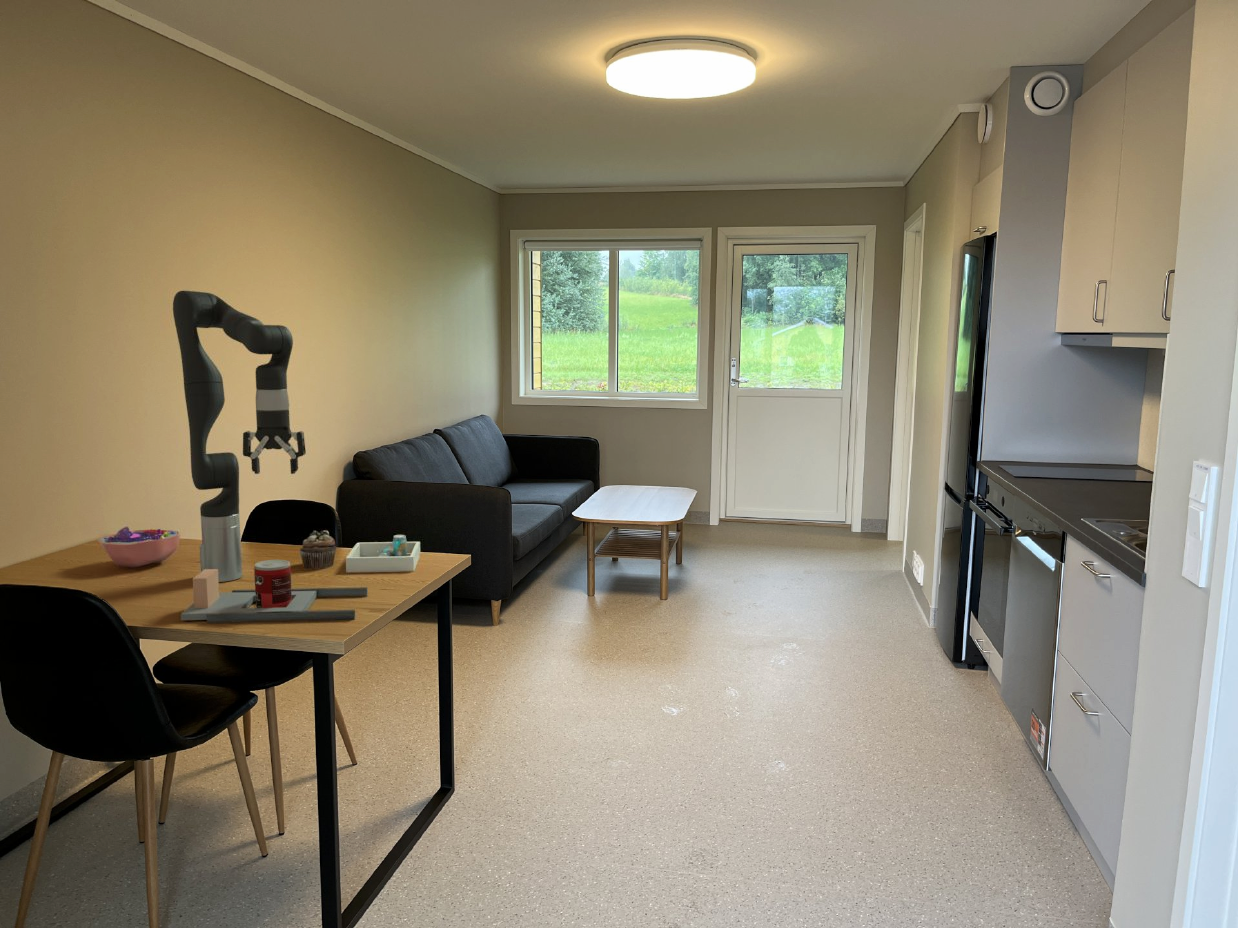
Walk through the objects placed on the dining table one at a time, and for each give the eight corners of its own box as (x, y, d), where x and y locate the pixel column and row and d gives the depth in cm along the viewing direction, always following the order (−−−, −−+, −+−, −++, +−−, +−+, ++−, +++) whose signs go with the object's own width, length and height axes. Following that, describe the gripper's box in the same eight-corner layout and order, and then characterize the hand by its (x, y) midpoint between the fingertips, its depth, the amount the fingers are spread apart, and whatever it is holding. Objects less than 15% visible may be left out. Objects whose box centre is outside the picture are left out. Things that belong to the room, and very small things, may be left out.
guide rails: (207, 623, 196) (206, 614, 196) (233, 597, 214) (233, 589, 214) (354, 619, 200) (354, 610, 200) (367, 594, 218) (367, 587, 218)
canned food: (261, 604, 210) (259, 559, 208) (296, 603, 211) (294, 559, 209) (251, 614, 202) (249, 567, 201) (287, 613, 203) (285, 567, 202)
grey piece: (181, 620, 197) (179, 583, 195) (205, 599, 212) (203, 564, 211) (301, 617, 200) (300, 581, 199) (316, 596, 215) (315, 563, 214)
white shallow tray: (346, 572, 238) (345, 558, 238) (357, 555, 256) (357, 542, 256) (413, 571, 241) (413, 557, 240) (420, 554, 258) (420, 541, 258)
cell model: (188, 566, 243) (186, 526, 241) (105, 577, 231) (102, 535, 229) (176, 553, 256) (173, 515, 254) (97, 563, 244) (94, 523, 242)
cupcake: (331, 559, 252) (330, 525, 250) (340, 567, 244) (339, 532, 242) (296, 563, 247) (295, 529, 245) (304, 571, 239) (303, 536, 237)
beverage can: (409, 568, 244) (408, 541, 243) (365, 568, 243) (364, 540, 242) (417, 558, 256) (417, 531, 254) (376, 557, 255) (375, 531, 254)
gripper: (237, 409, 209) (240, 476, 211) (299, 409, 211) (301, 475, 213) (246, 406, 216) (249, 471, 219) (306, 406, 218) (308, 471, 220)
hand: (275, 473), depth 216 cm, fingers open, 8 cm apart
